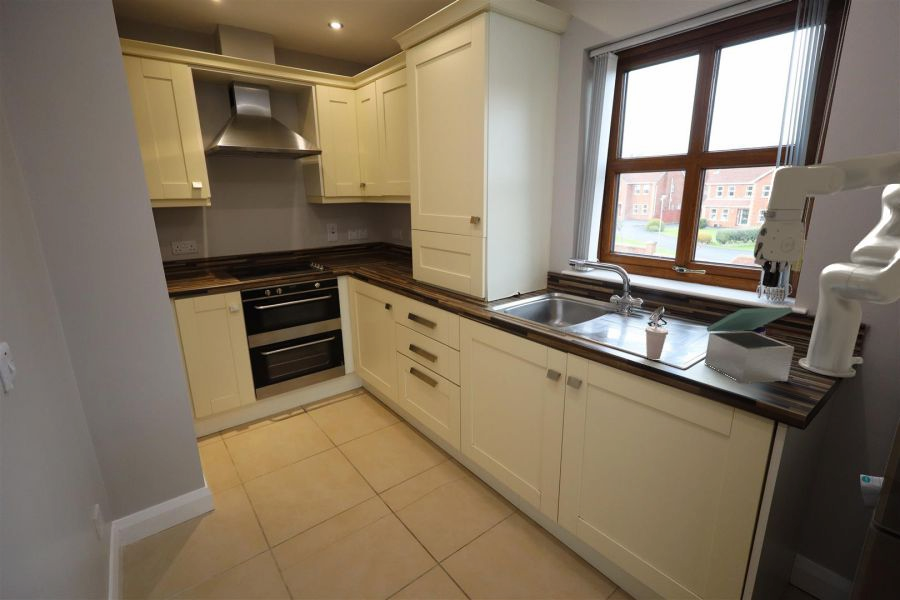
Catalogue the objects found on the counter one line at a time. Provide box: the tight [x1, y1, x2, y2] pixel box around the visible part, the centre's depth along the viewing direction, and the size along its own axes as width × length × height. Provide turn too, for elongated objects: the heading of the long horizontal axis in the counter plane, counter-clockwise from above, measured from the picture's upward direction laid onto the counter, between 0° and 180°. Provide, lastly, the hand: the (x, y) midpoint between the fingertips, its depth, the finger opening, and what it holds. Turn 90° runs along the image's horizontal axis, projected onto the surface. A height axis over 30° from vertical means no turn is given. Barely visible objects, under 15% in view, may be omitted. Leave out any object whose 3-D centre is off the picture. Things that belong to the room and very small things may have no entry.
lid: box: [706, 306, 793, 333], centre depth 119 cm, size 15×14×2 cm
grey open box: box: [704, 330, 795, 384], centre depth 119 cm, size 14×14×10 cm
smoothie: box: [644, 314, 669, 359], centre depth 129 cm, size 6×6×14 cm
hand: (769, 286), depth 111 cm, fingers closed
